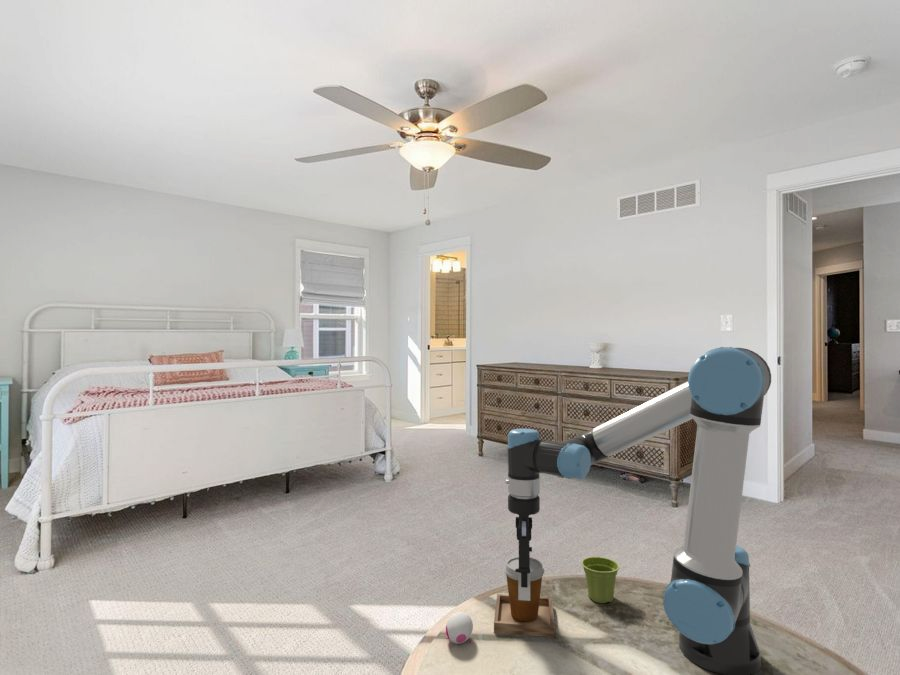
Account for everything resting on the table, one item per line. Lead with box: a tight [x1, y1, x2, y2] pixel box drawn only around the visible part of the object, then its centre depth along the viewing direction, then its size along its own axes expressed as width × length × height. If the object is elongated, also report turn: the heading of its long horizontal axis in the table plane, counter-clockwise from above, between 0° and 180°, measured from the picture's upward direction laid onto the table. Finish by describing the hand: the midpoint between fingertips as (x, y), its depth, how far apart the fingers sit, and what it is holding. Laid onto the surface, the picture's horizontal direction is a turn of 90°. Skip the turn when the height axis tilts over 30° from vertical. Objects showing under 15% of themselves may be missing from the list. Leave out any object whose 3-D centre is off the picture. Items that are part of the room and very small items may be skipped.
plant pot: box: [581, 556, 620, 604], centre depth 129 cm, size 9×9×9 cm
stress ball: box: [445, 611, 474, 645], centre depth 110 cm, size 8×8×7 cm
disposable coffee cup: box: [503, 556, 545, 622], centre depth 119 cm, size 10×10×12 cm
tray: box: [493, 593, 556, 638], centre depth 119 cm, size 14×14×2 cm
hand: (524, 589), depth 119 cm, fingers closed on disposable coffee cup, 9 cm apart
